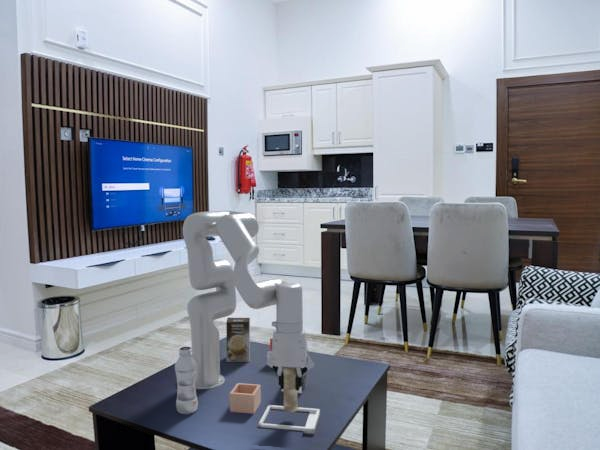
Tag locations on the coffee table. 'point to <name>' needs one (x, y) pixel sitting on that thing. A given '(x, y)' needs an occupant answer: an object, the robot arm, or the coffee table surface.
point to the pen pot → (245, 398)
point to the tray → (308, 428)
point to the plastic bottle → (186, 382)
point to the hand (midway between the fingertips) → (290, 387)
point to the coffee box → (238, 339)
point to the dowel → (290, 389)
